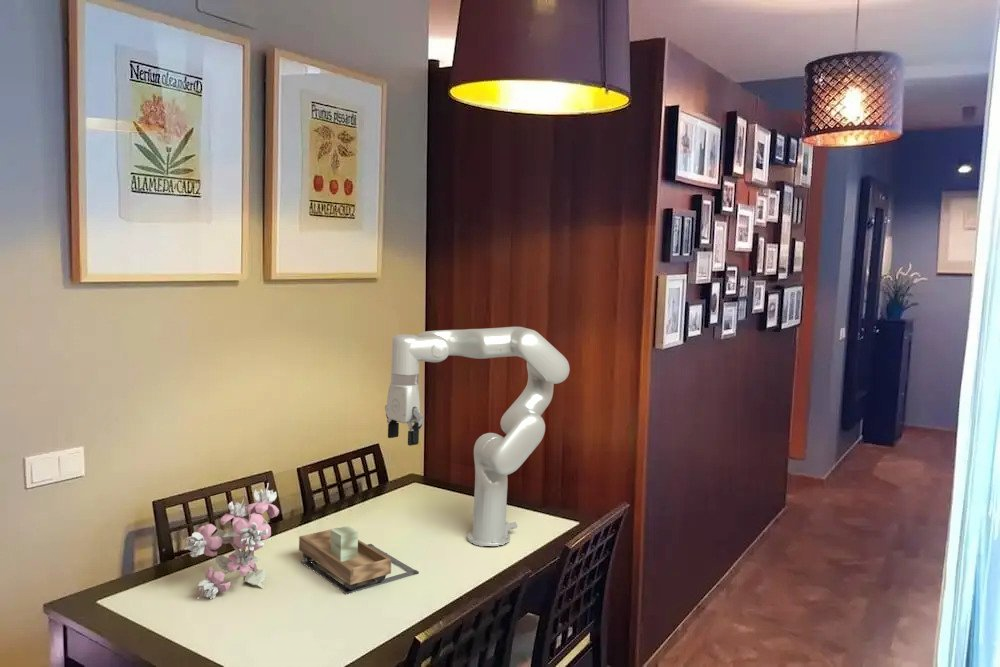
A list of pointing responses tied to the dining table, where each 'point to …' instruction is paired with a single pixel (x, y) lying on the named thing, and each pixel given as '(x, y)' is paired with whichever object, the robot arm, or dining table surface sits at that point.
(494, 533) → the robot arm
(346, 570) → the cart
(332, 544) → the sage block
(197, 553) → the flower
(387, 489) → the dining table surface
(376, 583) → the grey flat square frame
